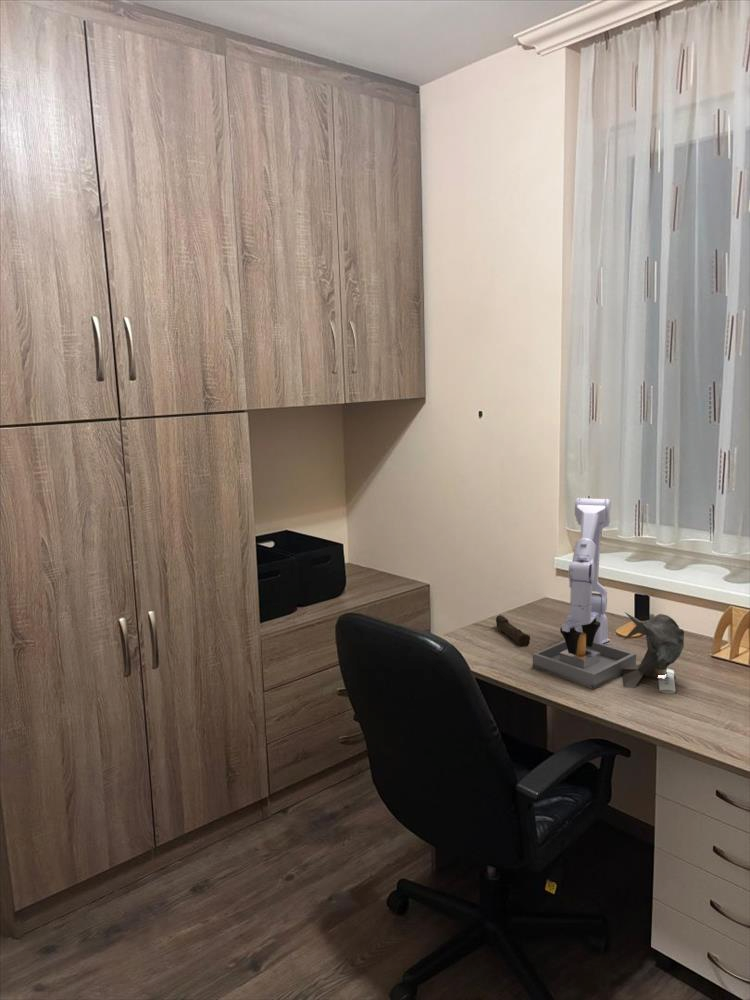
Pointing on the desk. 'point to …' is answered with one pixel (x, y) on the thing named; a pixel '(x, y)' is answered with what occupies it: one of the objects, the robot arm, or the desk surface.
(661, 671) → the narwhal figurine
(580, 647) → the orange wooden block
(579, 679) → the walled box
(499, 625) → the dark brown rod
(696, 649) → the desk surface
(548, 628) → the desk surface
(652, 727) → the desk surface
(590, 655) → the inlet socket
